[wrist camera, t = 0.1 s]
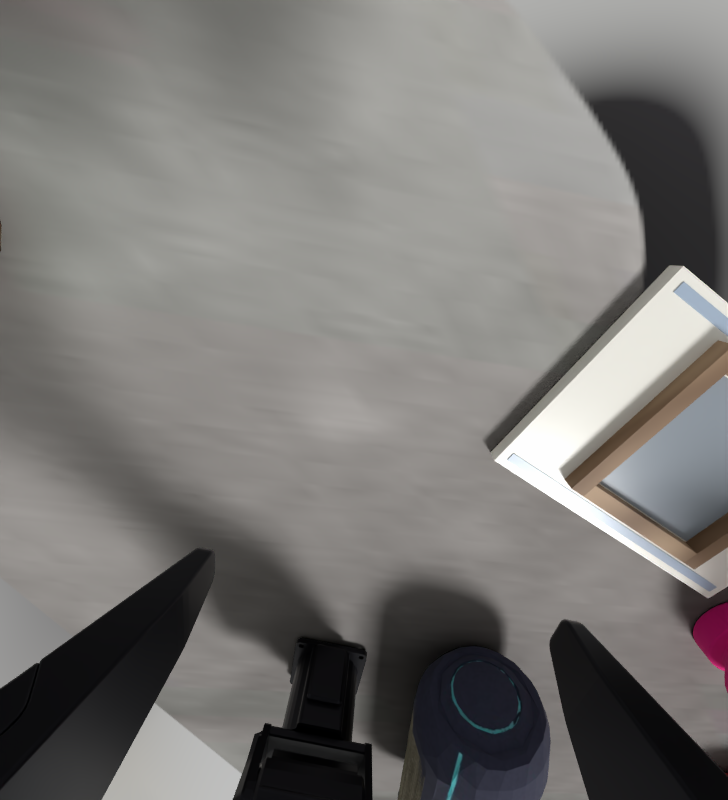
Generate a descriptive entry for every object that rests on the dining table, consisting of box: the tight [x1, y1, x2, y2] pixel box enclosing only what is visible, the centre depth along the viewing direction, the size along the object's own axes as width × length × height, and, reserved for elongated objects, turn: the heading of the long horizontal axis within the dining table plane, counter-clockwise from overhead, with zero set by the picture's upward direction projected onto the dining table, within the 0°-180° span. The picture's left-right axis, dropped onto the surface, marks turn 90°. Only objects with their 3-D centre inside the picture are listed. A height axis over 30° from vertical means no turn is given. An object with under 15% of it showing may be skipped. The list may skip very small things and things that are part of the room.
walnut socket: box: [564, 340, 728, 570], centre depth 21 cm, size 11×11×1 cm
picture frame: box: [491, 265, 728, 598], centre depth 22 cm, size 20×14×1 cm
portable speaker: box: [398, 646, 550, 800], centre depth 31 cm, size 25×10×10 cm, turn 177°
